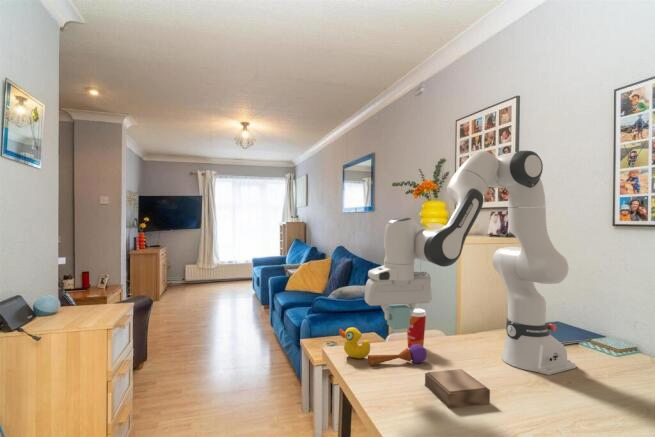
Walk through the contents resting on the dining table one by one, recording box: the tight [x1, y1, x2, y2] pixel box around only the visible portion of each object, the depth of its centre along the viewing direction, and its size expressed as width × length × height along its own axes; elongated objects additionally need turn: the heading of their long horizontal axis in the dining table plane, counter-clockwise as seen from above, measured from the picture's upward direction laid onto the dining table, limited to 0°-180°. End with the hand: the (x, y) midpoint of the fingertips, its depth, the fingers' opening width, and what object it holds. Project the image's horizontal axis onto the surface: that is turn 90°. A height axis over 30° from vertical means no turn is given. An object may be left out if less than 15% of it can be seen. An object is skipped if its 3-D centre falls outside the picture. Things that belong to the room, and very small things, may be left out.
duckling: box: [338, 326, 371, 359], centre depth 116 cm, size 11×5×10 cm, turn 63°
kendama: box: [367, 344, 428, 367], centre depth 112 cm, size 6×6×20 cm
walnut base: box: [424, 368, 491, 409], centre depth 92 cm, size 12×12×4 cm
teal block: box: [386, 304, 410, 330], centre depth 99 cm, size 5×5×6 cm
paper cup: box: [406, 307, 427, 349], centre depth 126 cm, size 8×8×14 cm
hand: (398, 318), depth 99 cm, fingers closed on teal block, 5 cm apart
